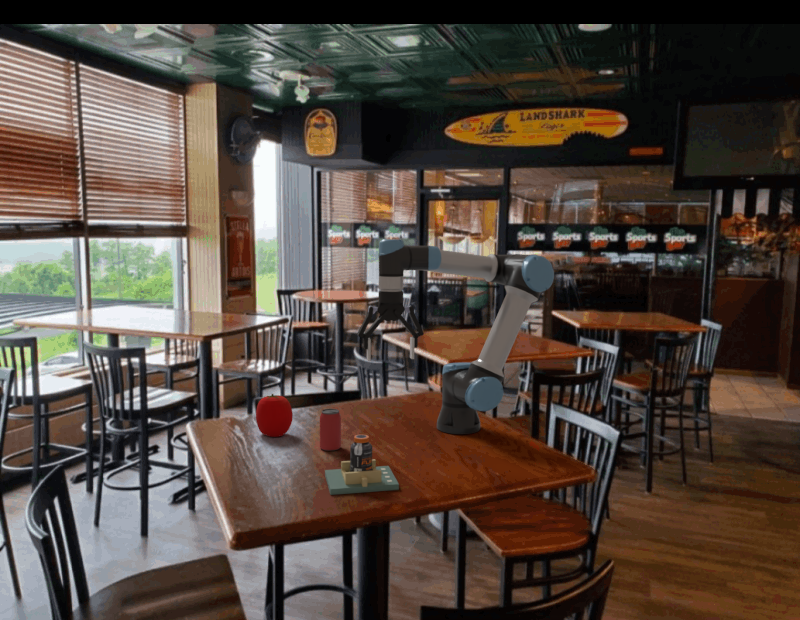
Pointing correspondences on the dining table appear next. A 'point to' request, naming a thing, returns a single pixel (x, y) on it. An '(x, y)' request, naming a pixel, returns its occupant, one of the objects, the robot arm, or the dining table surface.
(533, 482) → the dining table surface
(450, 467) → the dining table surface
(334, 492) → the board
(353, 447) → the pill bottle
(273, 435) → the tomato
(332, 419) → the beer can
